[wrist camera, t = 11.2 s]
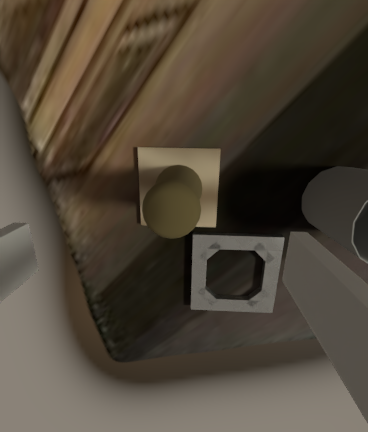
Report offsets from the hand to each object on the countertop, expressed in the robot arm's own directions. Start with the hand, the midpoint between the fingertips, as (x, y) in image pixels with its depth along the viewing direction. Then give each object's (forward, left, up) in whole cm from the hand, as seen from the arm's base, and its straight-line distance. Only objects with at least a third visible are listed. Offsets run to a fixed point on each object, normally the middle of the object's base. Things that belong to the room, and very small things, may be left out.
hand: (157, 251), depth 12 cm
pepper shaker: (0, 0, -19) cm, 19 cm away
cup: (+1, +20, -19) cm, 28 cm away
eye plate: (+12, +8, -19) cm, 24 cm away
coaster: (0, 0, -19) cm, 19 cm away
